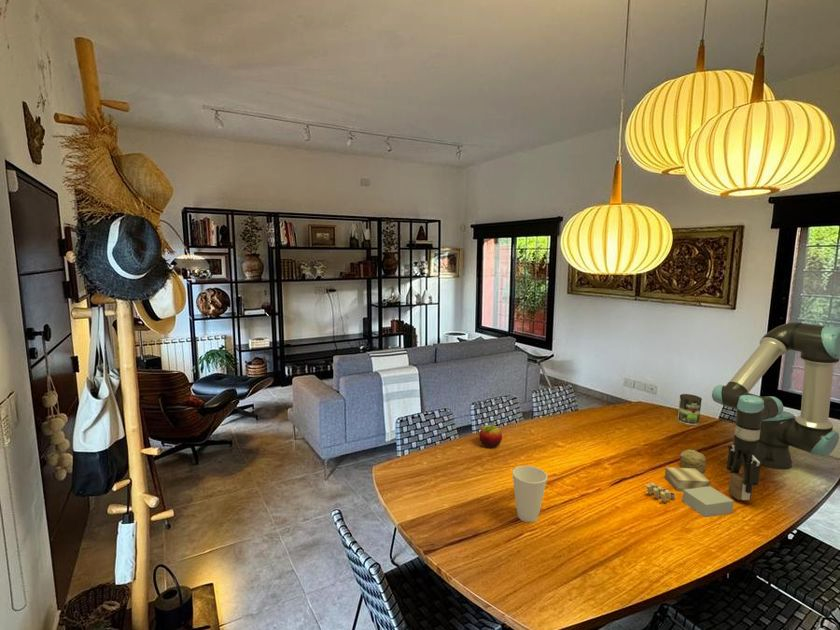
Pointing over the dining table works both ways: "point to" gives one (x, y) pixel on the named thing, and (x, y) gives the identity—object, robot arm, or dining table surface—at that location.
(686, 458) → the coral
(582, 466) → the dining table surface
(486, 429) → the fruit
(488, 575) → the dining table surface
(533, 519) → the cup
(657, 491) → the ammunition
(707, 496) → the grey painted block
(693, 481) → the pale oak block
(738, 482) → the walnut block
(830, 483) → the dining table surface
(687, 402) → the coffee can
